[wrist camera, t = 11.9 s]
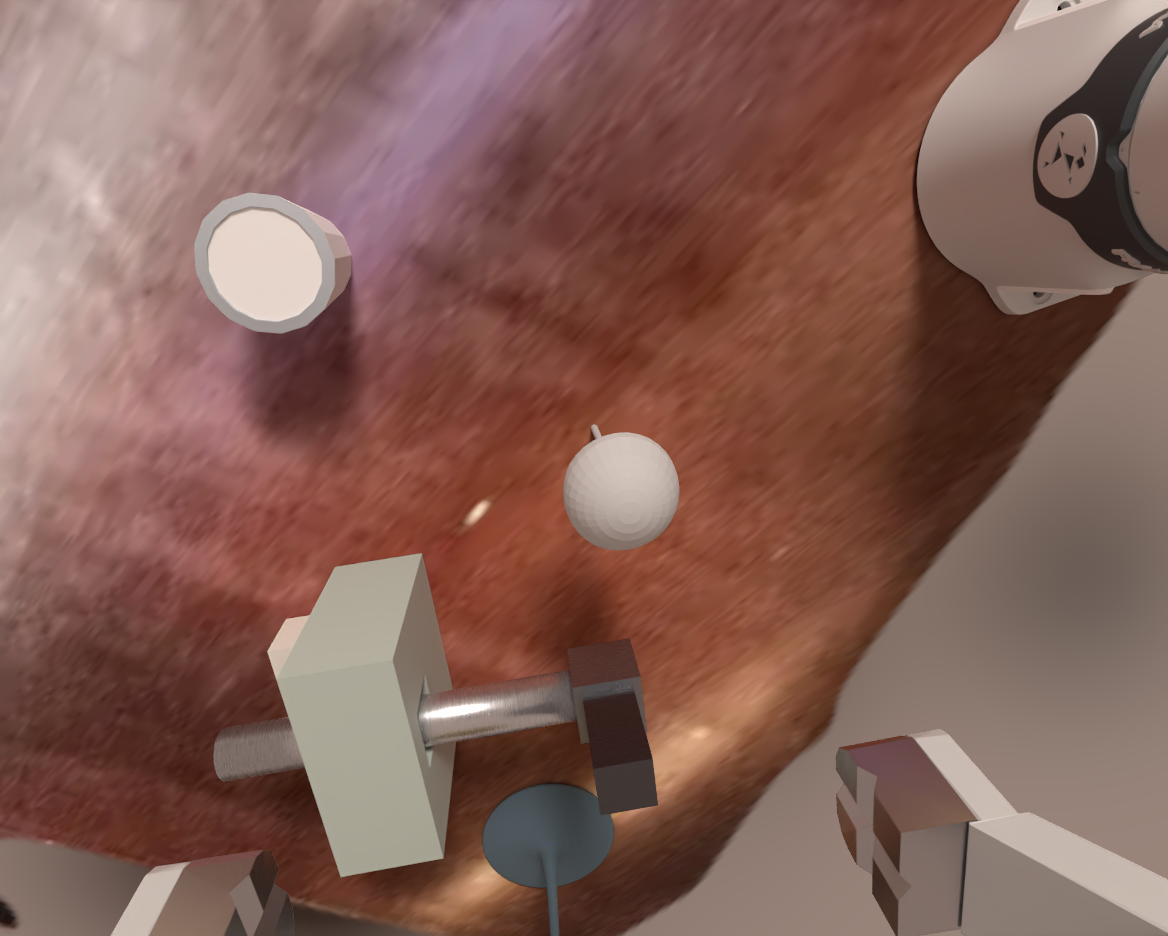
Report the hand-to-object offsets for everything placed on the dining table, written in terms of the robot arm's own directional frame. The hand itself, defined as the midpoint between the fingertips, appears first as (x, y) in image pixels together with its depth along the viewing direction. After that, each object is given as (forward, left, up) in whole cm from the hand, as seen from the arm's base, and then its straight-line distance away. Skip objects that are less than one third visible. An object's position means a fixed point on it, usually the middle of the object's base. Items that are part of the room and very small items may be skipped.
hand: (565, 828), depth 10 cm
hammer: (+9, +19, -30) cm, 37 cm away
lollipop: (-4, +5, -37) cm, 38 cm away
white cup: (+12, -8, -37) cm, 40 cm away
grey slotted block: (+12, +19, -37) cm, 43 cm away
